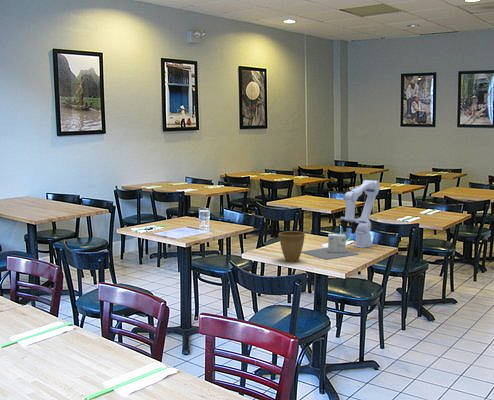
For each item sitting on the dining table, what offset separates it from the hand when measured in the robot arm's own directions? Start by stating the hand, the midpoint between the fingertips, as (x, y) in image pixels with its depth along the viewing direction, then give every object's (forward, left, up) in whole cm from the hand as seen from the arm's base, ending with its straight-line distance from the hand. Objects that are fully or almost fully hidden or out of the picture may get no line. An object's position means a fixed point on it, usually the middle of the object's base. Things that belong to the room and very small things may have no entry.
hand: (348, 232), depth 359 cm
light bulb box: (+10, 0, -11) cm, 15 cm away
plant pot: (+47, +2, -11) cm, 48 cm away
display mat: (+16, 0, -11) cm, 19 cm away
